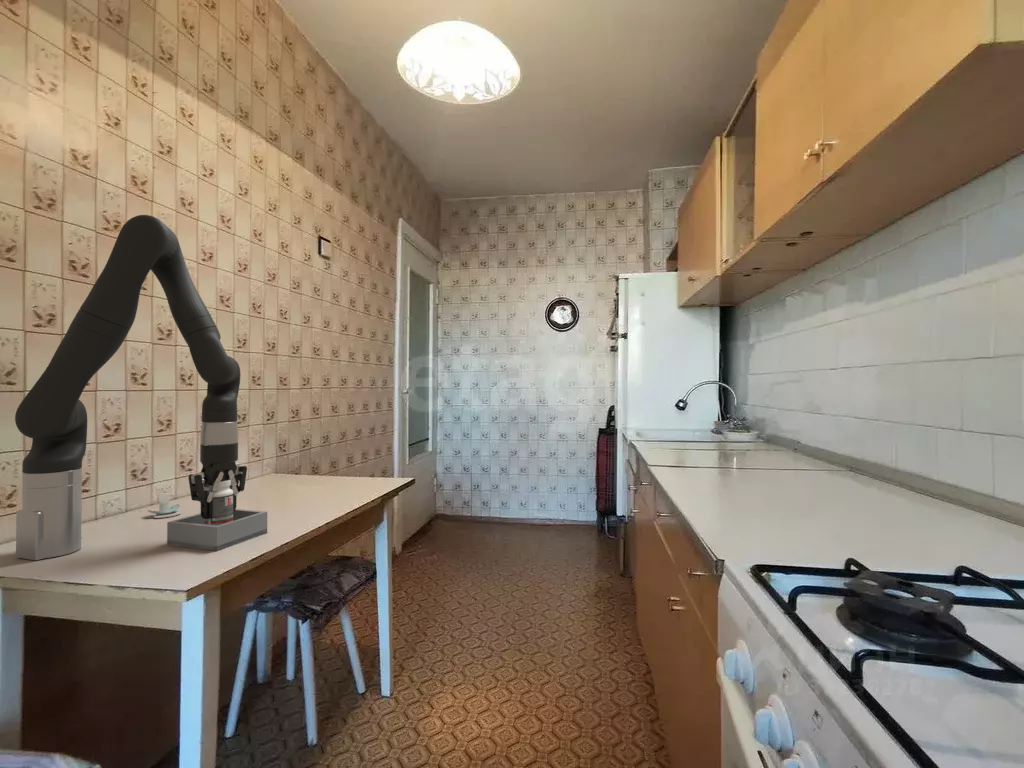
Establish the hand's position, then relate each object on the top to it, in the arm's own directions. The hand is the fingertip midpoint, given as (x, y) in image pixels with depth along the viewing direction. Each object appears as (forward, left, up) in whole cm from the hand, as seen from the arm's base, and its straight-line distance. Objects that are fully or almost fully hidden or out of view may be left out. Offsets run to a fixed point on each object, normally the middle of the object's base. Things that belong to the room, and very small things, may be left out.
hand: (218, 514), depth 115 cm
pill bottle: (0, 0, -2) cm, 2 cm away
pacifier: (+12, +31, -6) cm, 33 cm away
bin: (0, 0, -5) cm, 5 cm away
